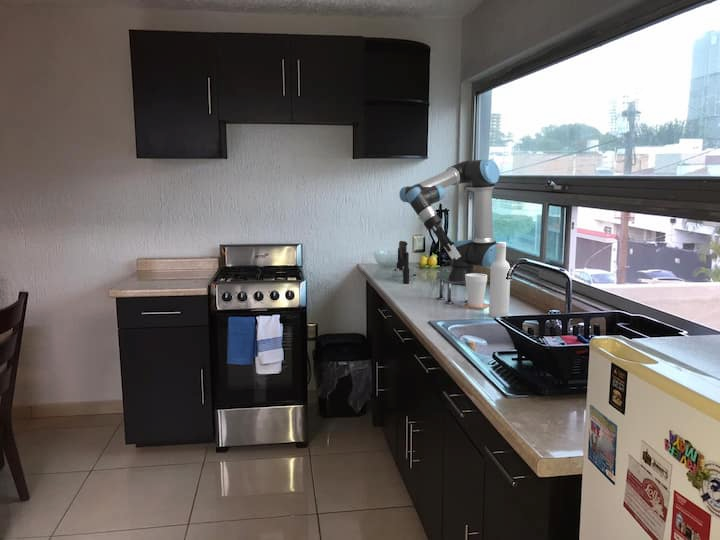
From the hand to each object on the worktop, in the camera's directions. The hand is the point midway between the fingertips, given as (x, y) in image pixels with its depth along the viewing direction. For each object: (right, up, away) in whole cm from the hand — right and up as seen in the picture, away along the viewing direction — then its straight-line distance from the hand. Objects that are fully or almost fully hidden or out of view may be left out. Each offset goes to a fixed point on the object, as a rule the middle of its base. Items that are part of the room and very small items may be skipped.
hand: (456, 257), depth 258 cm
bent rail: (-1, -20, +7) cm, 21 cm away
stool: (-19, -11, +65) cm, 69 cm away
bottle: (+14, -24, -21) cm, 35 cm away
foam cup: (+7, -21, -4) cm, 22 cm away
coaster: (+8, -21, -4) cm, 23 cm away
